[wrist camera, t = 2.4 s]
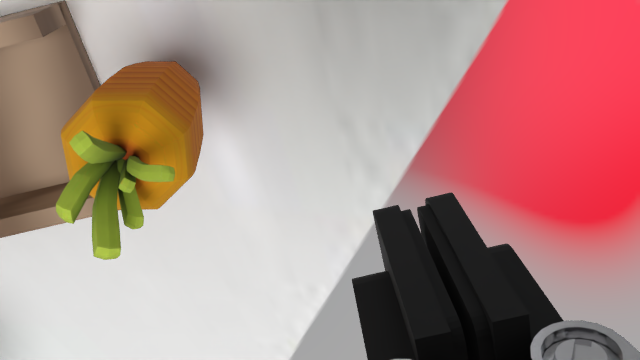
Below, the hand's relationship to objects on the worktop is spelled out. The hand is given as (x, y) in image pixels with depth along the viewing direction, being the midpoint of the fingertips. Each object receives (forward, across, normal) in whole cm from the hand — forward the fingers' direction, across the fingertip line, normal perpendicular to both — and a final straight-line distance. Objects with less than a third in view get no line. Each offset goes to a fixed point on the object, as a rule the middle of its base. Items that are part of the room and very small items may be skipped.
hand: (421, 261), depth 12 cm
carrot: (+20, +9, -1) cm, 22 cm away
